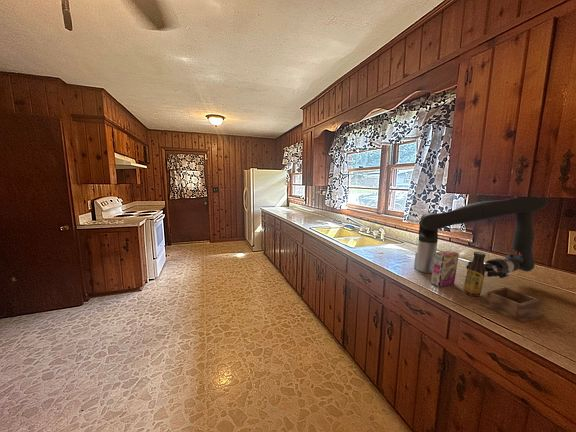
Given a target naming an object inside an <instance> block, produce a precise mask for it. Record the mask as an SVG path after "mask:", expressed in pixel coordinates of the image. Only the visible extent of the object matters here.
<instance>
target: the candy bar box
mask: <svg viewBox="0 0 576 432" xmlns="http://www.w3.org/2000/svg"><path fill="white" fill-rule="evenodd" d="M459 254H460V253H459V252H456V251H452V250H444V251H436V252H435V254H434V262H433V269H432V273H431V277H430V284H431V285H433V286H435V287H437V288H441V287H446V286H451V285H455V280H456V273H457V269H458V268H457V267H458V262H459Z"/></svg>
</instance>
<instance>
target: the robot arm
mask: <svg viewBox="0 0 576 432" xmlns="http://www.w3.org/2000/svg"><path fill="white" fill-rule="evenodd" d="M548 203H549V198H548V197H547V198H536V197H516V196H515V197H511V198H507V199H501V200H499V199H498V200H497V199H496V200H483V201H479V202H478V201H477V202H473V203H468V204H466V205H463V206H460V207H457V208H456V209H453V210H449V211H445V212H439V213H434V212H431V211H429V212H425V213H423V214H422V215H421V216H420V219H419V227H418V242H417V251H416V252H415V255H414V263H413V268H414V269H415V270H416V271H417V272H421V273H425V274H432V269H433V262H434V254H435V252H437V249H438V243H439V242H438V240H439V229H443V228H447V227H451V226H454V225H460V224H461V225H462V224H468V223H474V222H478V221H479V222H480V221H485V220H488V219H489V220H491V219H493V218H499V217H503V216H508V215H512V214H515V220H514V221H515V223H514V233H513V239H512V245H511V247H512V249H513V250H514V251H516V252H518V253H520V254H521V255H520V254H517V253H509V254H507V255H506V256H505V257H498V258H492V259H488V260H487V261H485V262H484V263H483V264H484V267H485V273H487V274H486V277H488V278H491V277H494V278H495V277H499V279H504V278H507V277H509V275H510V273H512V272H516V271H518V270H519V271H523V272H531V271H533V269H534V268H535V265H536V263H535V258H534V254H533V245H534V240H535V239H534V237H535V235H534V225H533V213H534V212H536V211H540V210H542V209H544V208H545V207H546V206H548ZM472 262H473V260H471V261H468V262H467V264H466V270H468V268H469V265H470V264H471V263H472Z"/></svg>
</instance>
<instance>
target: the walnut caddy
mask: <svg viewBox="0 0 576 432" xmlns="http://www.w3.org/2000/svg"><path fill="white" fill-rule="evenodd" d="M541 300H542V299H539V298H537V297H533V296H531V295H529V294H525V293H523V292H520V291H517V290H514V289H512V288H509V287H506V286H505V287H500V288H498V289H493V290H489V291H487V293H486V298H485V300H482V301H480V305H482V306H484V307H486V308H489V309H491V310H494V311H496V312H497V313H500V314H502V315H505V316H506V317H509V318H511V319H512V320H515V321H518V322H520V323H522V324H524V323H526V322H529V321H532V320H535V319H537V318H540V317H543V316H544V312H543V311H540V304H541Z"/></svg>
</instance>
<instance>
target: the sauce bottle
mask: <svg viewBox="0 0 576 432" xmlns="http://www.w3.org/2000/svg"><path fill="white" fill-rule="evenodd" d="M486 256H487V255H486V253H485V252H481V251H474V252H473V259H472V261H473V262H472V263H471V264H470V265H469V268H468V269H466V270H467V272H466V275H465V281H464V286H463V292H464V293H465V294H466V295H468V296H471V297H480V295H481V294H482V290H483V289H482V288H483V284H484V280H485V276H486V275H485V273H486V272H485V267H484V264H483V263H485V262H484V261H485V258H486Z"/></svg>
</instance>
